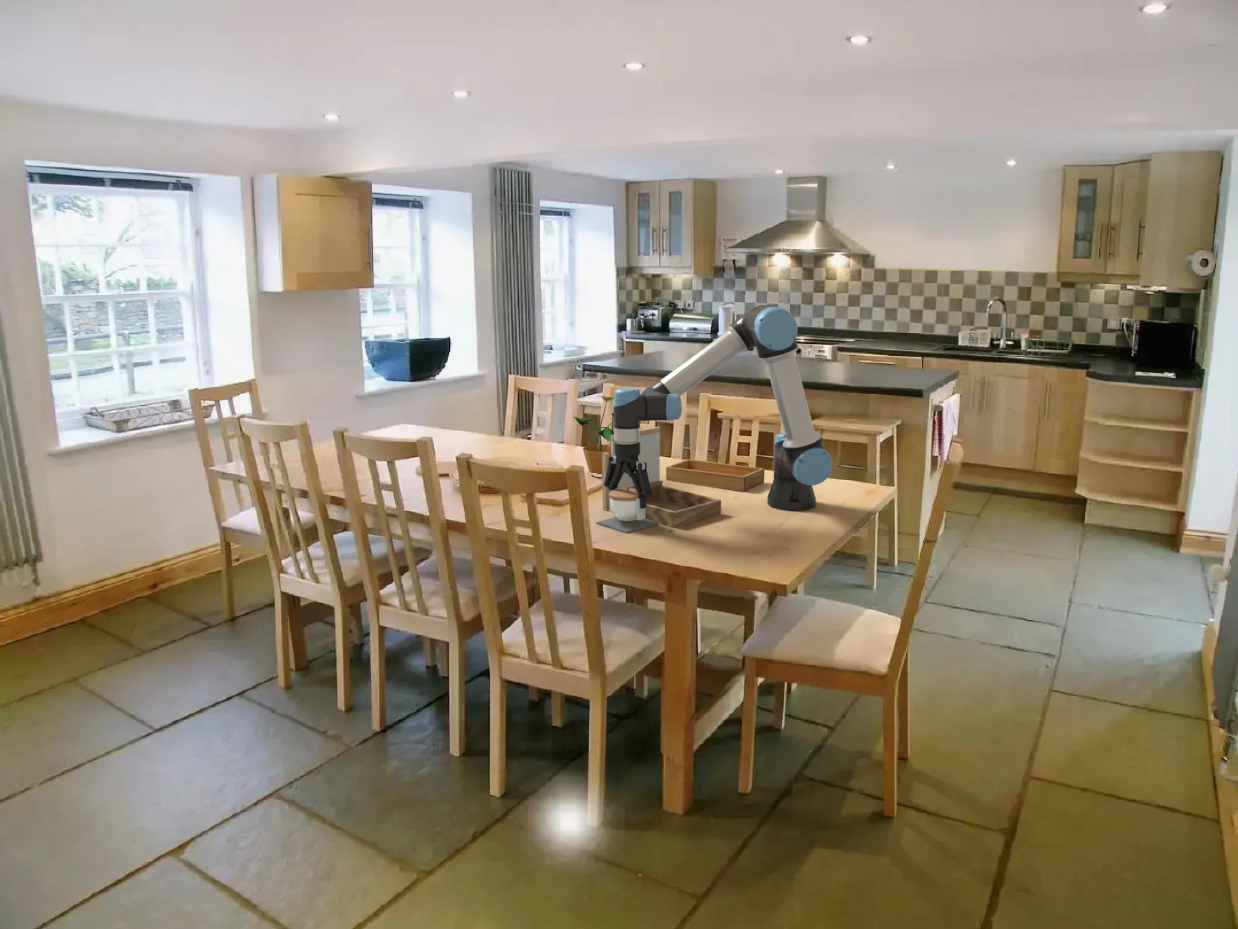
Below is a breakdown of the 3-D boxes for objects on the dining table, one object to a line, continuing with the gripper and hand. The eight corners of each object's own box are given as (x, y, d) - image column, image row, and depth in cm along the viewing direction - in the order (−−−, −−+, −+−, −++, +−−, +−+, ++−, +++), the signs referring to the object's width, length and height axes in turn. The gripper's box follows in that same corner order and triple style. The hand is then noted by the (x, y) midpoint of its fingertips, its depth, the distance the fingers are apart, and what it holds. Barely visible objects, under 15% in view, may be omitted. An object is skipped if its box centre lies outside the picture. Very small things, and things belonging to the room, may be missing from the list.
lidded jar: (604, 515, 277) (604, 485, 274) (637, 511, 280) (637, 481, 278) (617, 525, 267) (616, 493, 265) (651, 520, 270) (651, 489, 268)
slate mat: (658, 524, 274) (658, 522, 273) (626, 533, 265) (626, 531, 265) (628, 515, 283) (628, 513, 283) (596, 524, 274) (596, 522, 274)
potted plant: (632, 479, 328) (631, 395, 322) (580, 482, 324) (578, 397, 317) (620, 468, 345) (620, 388, 339) (570, 470, 341) (569, 390, 334)
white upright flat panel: (660, 498, 302) (660, 427, 297) (609, 511, 288) (608, 436, 282) (653, 496, 304) (653, 426, 299) (602, 509, 290) (601, 435, 284)
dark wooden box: (720, 514, 283) (721, 495, 282) (674, 527, 270) (674, 508, 269) (659, 498, 302) (659, 480, 301) (613, 510, 289) (613, 491, 288)
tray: (665, 481, 327) (665, 465, 325) (687, 473, 339) (688, 457, 337) (743, 493, 309) (744, 477, 308) (764, 484, 321) (764, 468, 320)
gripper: (664, 445, 263) (664, 520, 267) (610, 434, 279) (610, 505, 284) (645, 449, 258) (645, 525, 263) (591, 437, 274) (592, 509, 279)
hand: (627, 514), depth 273 cm, fingers closed on lidded jar, 11 cm apart
